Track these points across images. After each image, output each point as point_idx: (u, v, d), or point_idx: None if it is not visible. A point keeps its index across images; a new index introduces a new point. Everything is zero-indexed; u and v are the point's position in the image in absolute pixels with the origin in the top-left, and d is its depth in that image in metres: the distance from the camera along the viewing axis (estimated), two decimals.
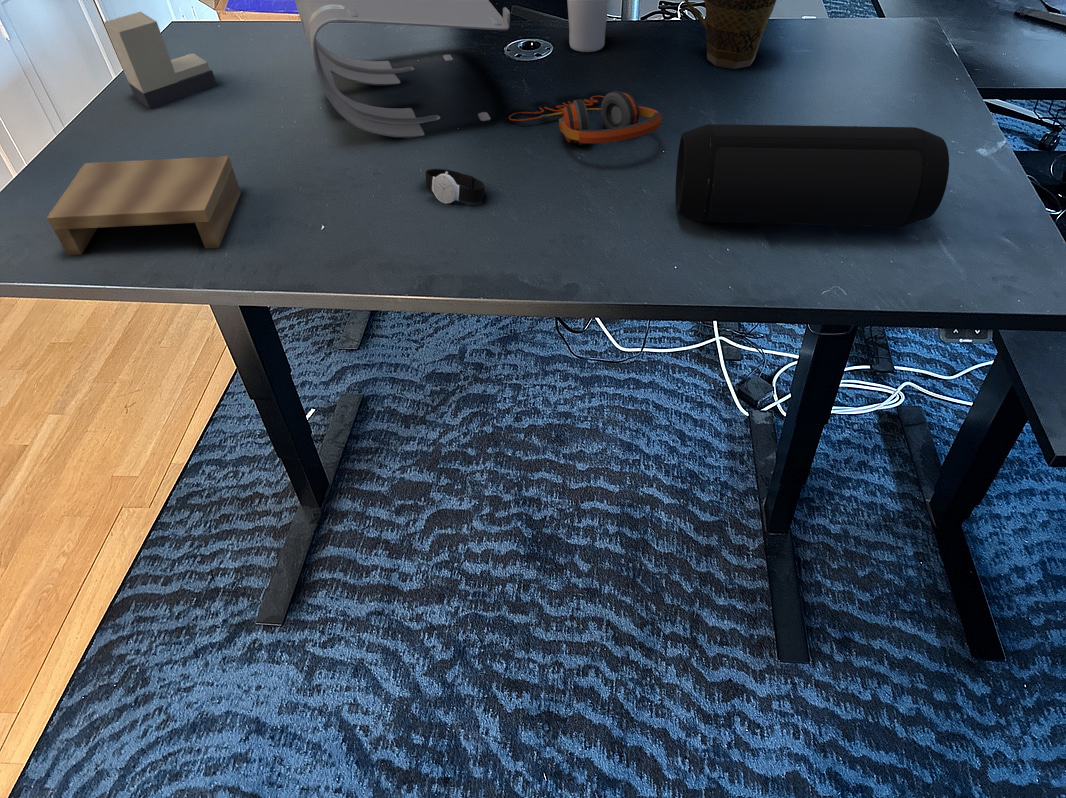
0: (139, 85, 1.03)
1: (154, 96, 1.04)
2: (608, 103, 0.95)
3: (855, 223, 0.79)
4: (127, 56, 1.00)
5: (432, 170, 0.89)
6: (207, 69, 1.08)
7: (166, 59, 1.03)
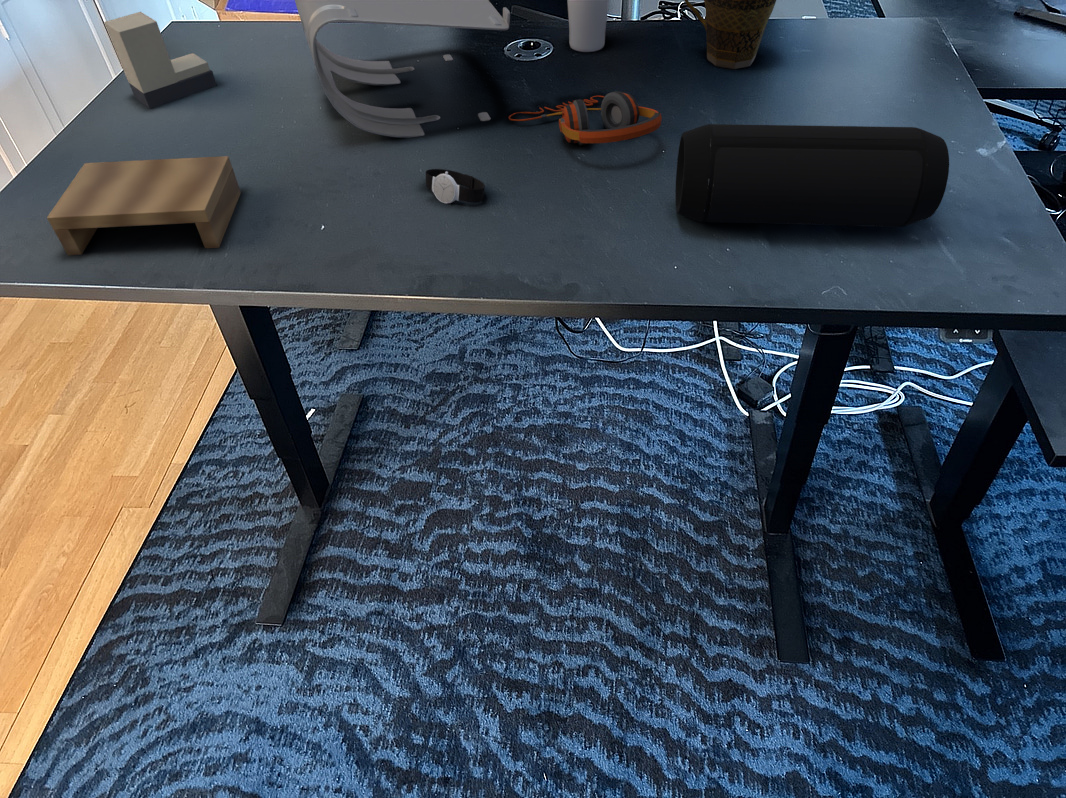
0: (139, 85, 1.03)
1: (154, 96, 1.04)
2: (608, 103, 0.95)
3: (855, 223, 0.79)
4: (127, 56, 1.00)
5: (432, 170, 0.89)
6: (207, 69, 1.08)
7: (166, 59, 1.03)
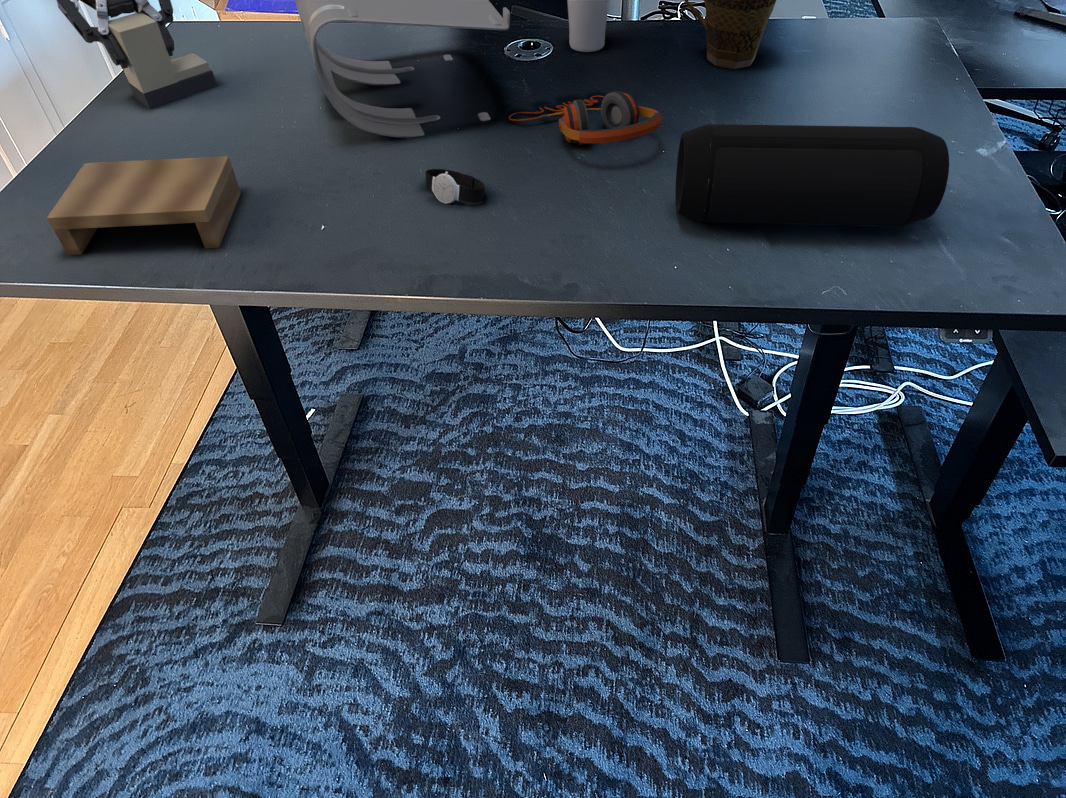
0: (139, 85, 1.03)
1: (154, 96, 1.04)
2: (608, 103, 0.95)
3: (855, 223, 0.79)
4: (127, 56, 1.00)
5: (432, 170, 0.89)
6: (207, 69, 1.08)
7: (166, 59, 1.03)
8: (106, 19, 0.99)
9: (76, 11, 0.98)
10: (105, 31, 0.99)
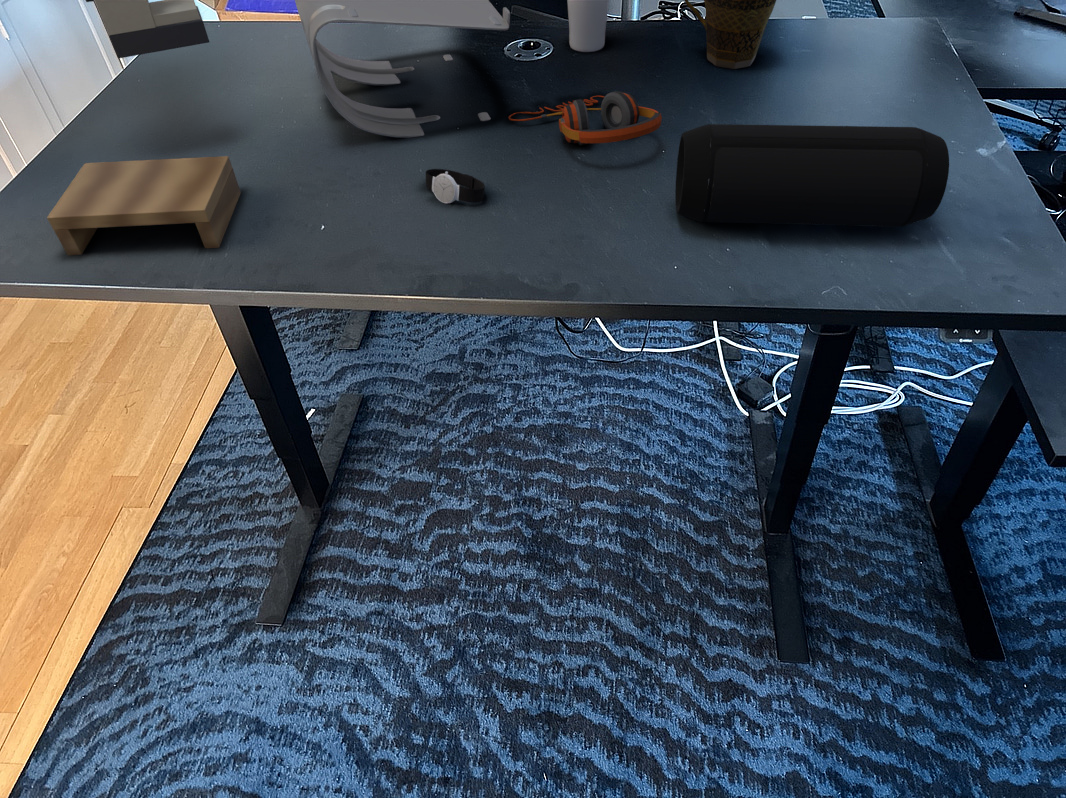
0: (104, 24, 0.84)
1: (123, 41, 0.85)
2: (608, 103, 0.95)
3: (855, 223, 0.79)
4: None
5: (432, 170, 0.89)
6: (196, 17, 0.87)
7: None
8: None
9: None
10: None
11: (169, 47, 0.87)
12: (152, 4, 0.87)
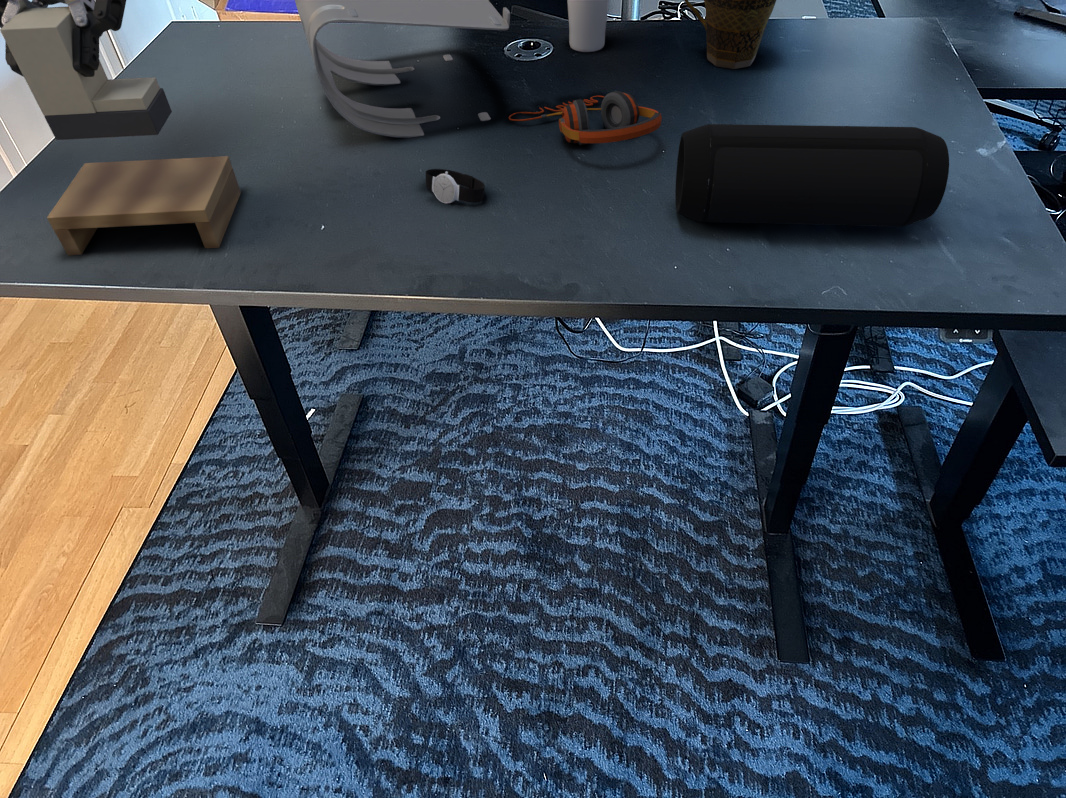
0: (39, 103, 0.73)
1: (59, 123, 0.74)
2: (608, 103, 0.95)
3: (855, 223, 0.79)
4: (18, 63, 0.70)
5: (432, 170, 0.89)
6: (142, 107, 0.74)
7: (75, 80, 0.71)
8: (17, 6, 0.70)
9: None
10: None
11: (112, 135, 0.75)
12: (107, 83, 0.76)
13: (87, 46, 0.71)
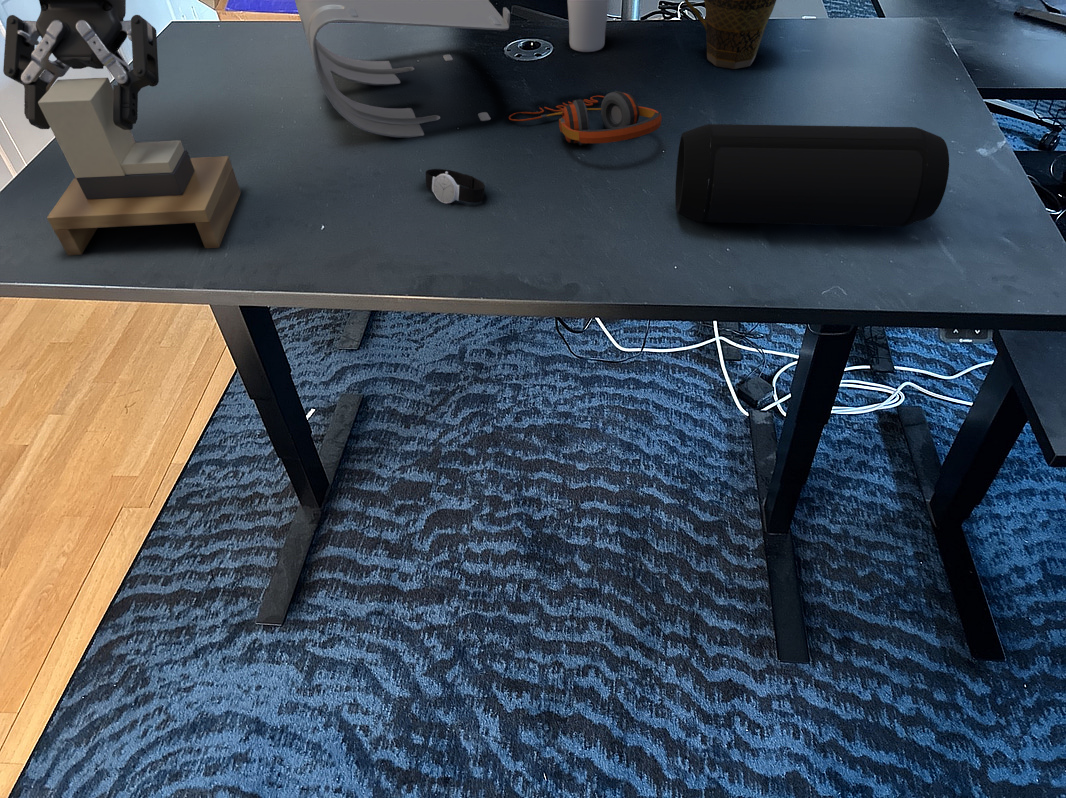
0: (72, 166, 0.78)
1: (90, 184, 0.79)
2: (608, 103, 0.95)
3: (855, 223, 0.79)
4: (53, 131, 0.75)
5: (432, 170, 0.89)
6: (168, 170, 0.79)
7: (106, 146, 0.76)
8: (39, 67, 0.75)
9: (14, 46, 0.75)
10: (27, 79, 0.75)
11: (139, 195, 0.80)
12: (135, 146, 0.80)
13: (127, 102, 0.75)
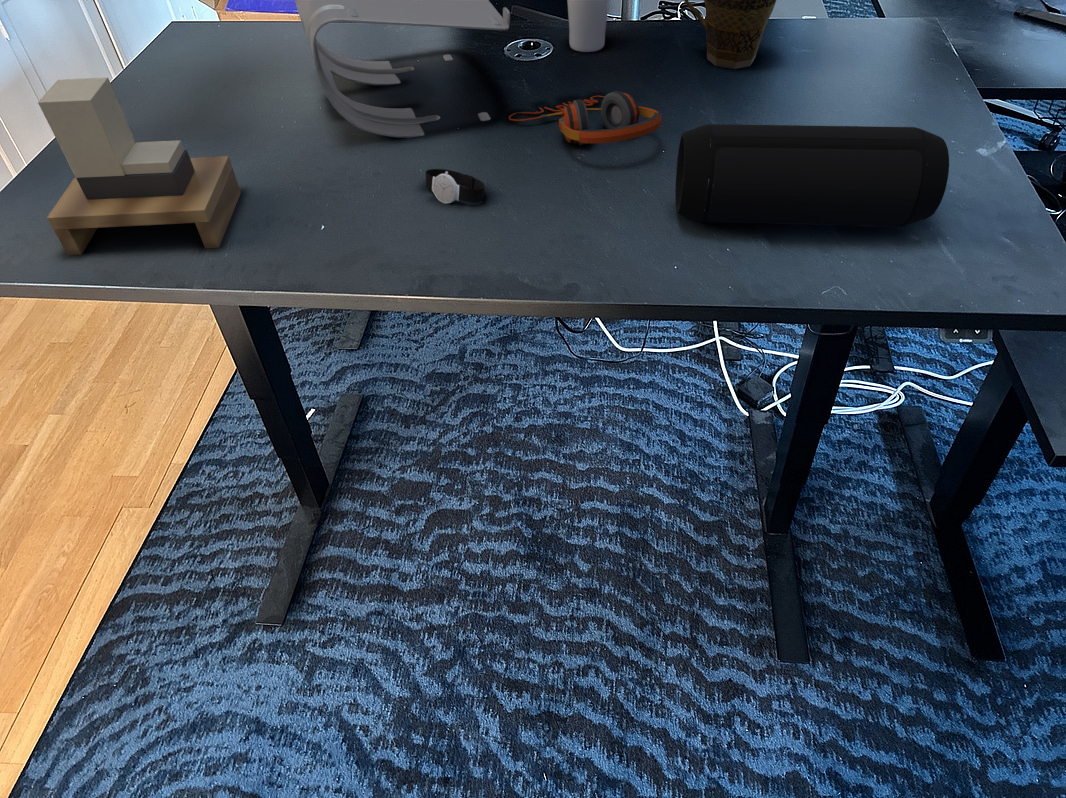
0: (72, 166, 0.78)
1: (90, 184, 0.79)
2: (608, 103, 0.95)
3: (855, 223, 0.79)
4: (53, 131, 0.75)
5: (432, 170, 0.89)
6: (168, 170, 0.79)
7: (106, 146, 0.76)
8: None
9: None
10: None
11: (139, 195, 0.80)
12: (135, 146, 0.80)
13: None
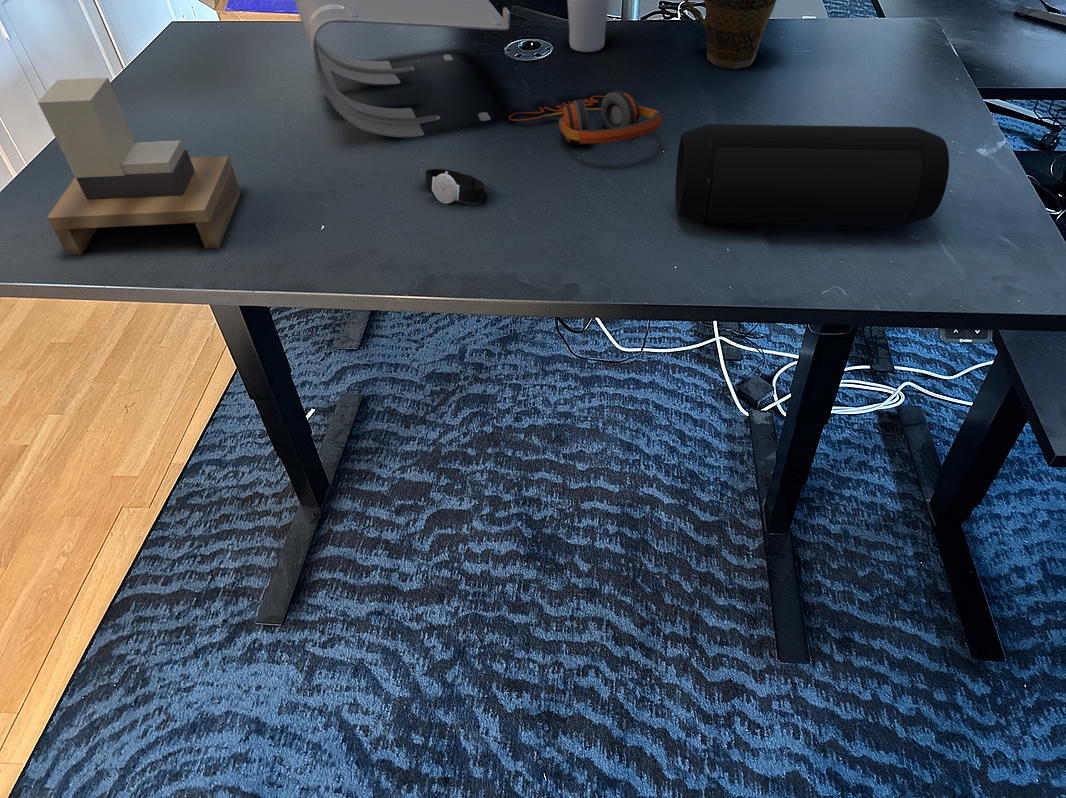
0: (72, 166, 0.78)
1: (90, 184, 0.79)
2: (608, 103, 0.95)
3: (855, 223, 0.79)
4: (53, 131, 0.75)
5: (432, 170, 0.89)
6: (168, 170, 0.79)
7: (106, 146, 0.76)
8: None
9: None
10: None
11: (139, 195, 0.80)
12: (135, 146, 0.80)
13: None
